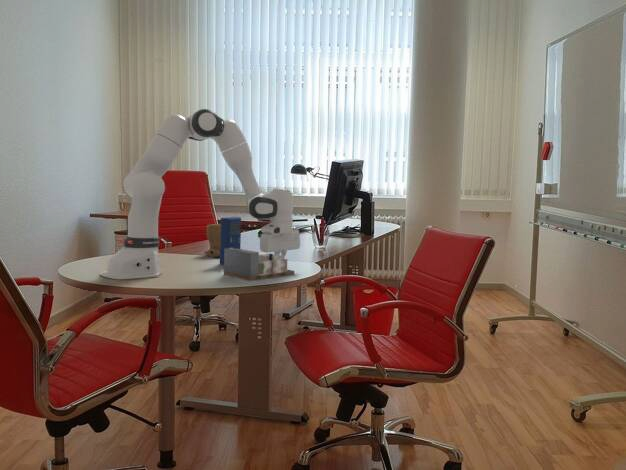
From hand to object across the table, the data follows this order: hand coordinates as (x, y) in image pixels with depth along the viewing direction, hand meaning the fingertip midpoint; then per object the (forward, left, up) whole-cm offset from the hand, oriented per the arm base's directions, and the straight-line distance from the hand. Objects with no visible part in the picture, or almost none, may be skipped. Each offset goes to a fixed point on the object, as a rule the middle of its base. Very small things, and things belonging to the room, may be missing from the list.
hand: (280, 261), depth 265 cm
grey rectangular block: (-22, -1, -3) cm, 22 cm away
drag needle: (-12, -7, +3) cm, 14 cm away
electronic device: (-3, +27, -4) cm, 28 cm away
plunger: (-9, -1, -2) cm, 9 cm away
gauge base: (-12, -1, -4) cm, 13 cm away
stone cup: (+8, +49, -4) cm, 50 cm away
